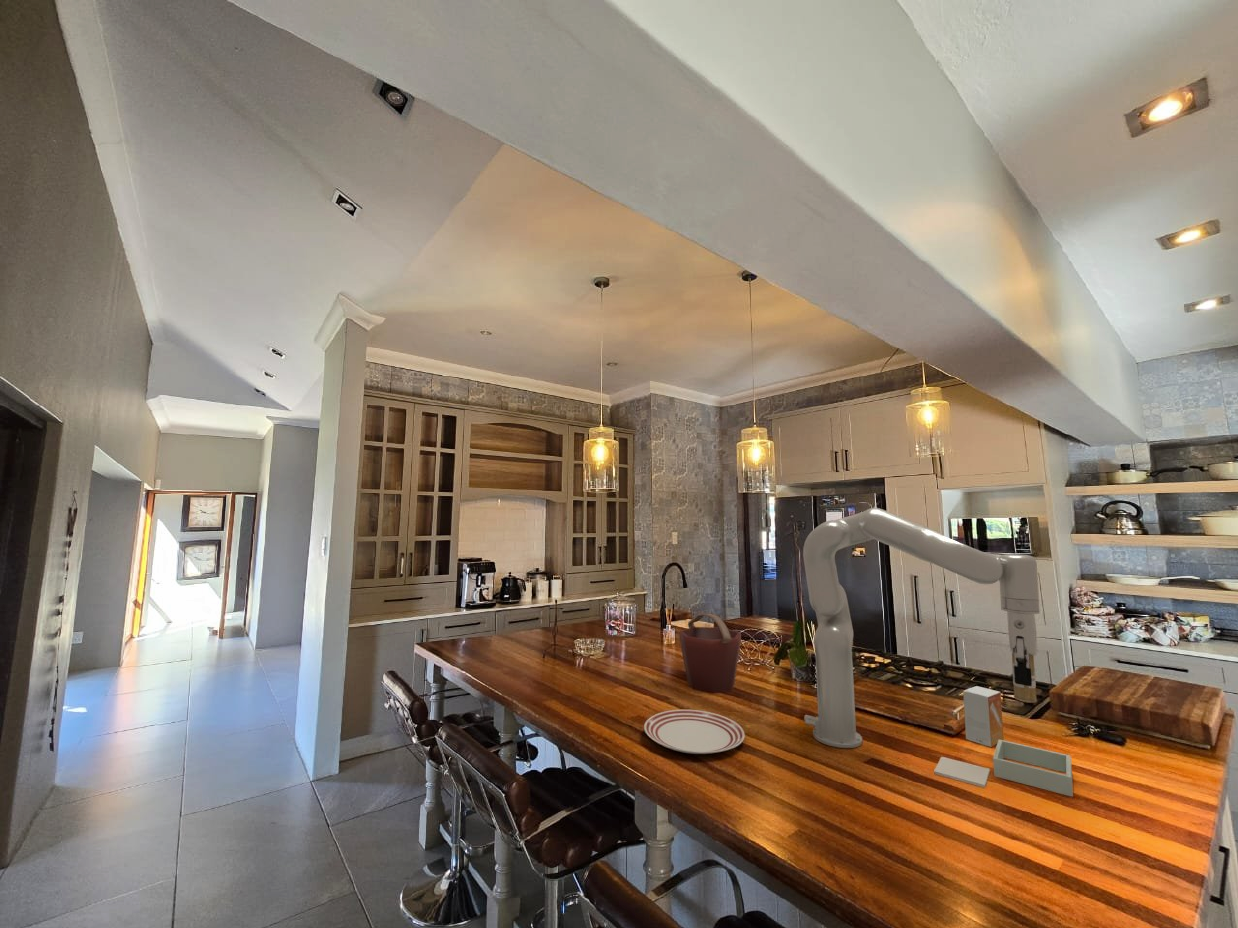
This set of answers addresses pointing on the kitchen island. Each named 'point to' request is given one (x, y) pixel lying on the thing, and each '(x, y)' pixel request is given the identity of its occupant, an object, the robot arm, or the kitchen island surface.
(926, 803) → the kitchen island surface
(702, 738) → the dinner plate
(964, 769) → the tile
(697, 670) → the bucket
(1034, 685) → the sprinkles bottle
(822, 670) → the robot arm
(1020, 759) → the tray
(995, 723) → the small box
